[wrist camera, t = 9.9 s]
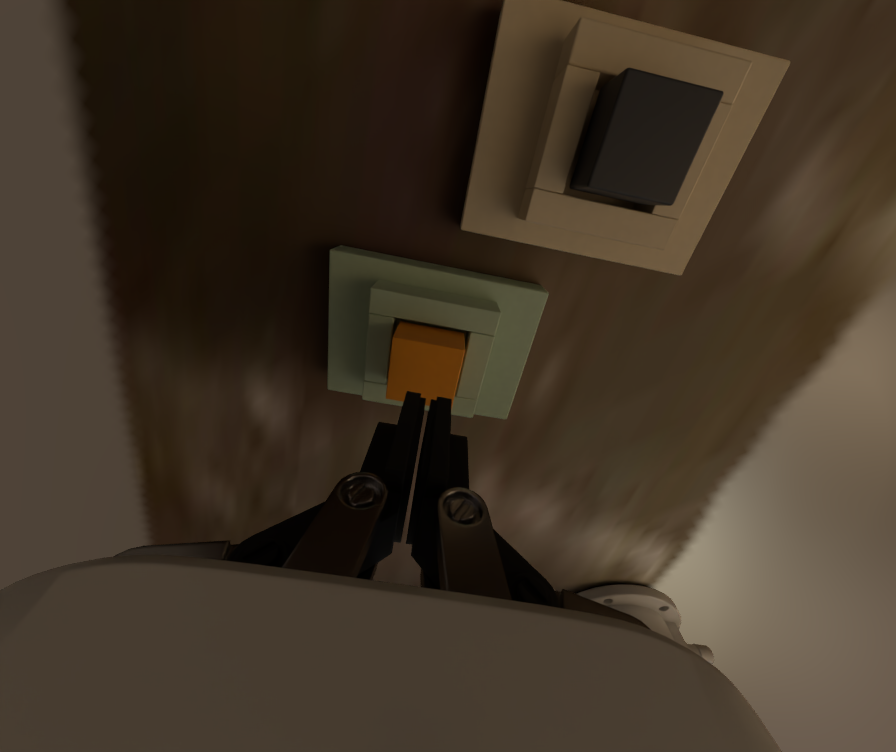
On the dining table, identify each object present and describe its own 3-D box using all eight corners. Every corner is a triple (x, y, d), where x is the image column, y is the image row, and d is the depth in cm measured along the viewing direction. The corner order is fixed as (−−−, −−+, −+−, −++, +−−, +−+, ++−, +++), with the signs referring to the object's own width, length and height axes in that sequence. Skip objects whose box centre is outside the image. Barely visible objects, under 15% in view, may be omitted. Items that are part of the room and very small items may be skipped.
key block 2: (756, 75, 14) (842, 39, 11) (662, 269, 18) (706, 284, 14) (500, 9, 13) (515, -50, 10) (459, 226, 17) (461, 233, 14)
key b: (464, 332, 16) (465, 350, 14) (451, 387, 18) (451, 410, 16) (399, 320, 16) (392, 336, 14) (392, 377, 18) (385, 399, 16)
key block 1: (541, 284, 18) (559, 302, 15) (503, 405, 22) (511, 438, 19) (340, 244, 17) (314, 254, 14) (336, 376, 21) (315, 406, 18)
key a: (684, 107, 12) (726, 90, 10) (642, 205, 13) (673, 206, 12) (600, 86, 12) (627, 65, 10) (568, 188, 13) (586, 187, 11)
